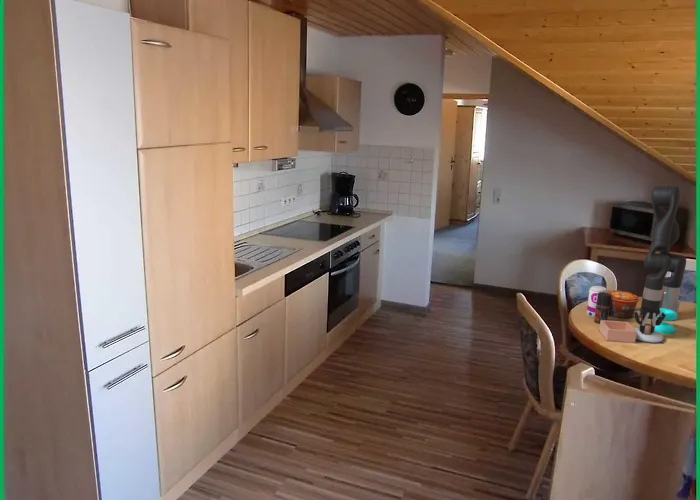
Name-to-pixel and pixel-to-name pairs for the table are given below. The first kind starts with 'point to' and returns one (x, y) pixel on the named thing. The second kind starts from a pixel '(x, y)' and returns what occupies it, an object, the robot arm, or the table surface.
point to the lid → (648, 335)
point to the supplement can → (593, 299)
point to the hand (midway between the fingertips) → (646, 332)
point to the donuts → (665, 326)
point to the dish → (617, 331)
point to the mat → (648, 342)
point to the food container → (622, 304)
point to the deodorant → (602, 307)
